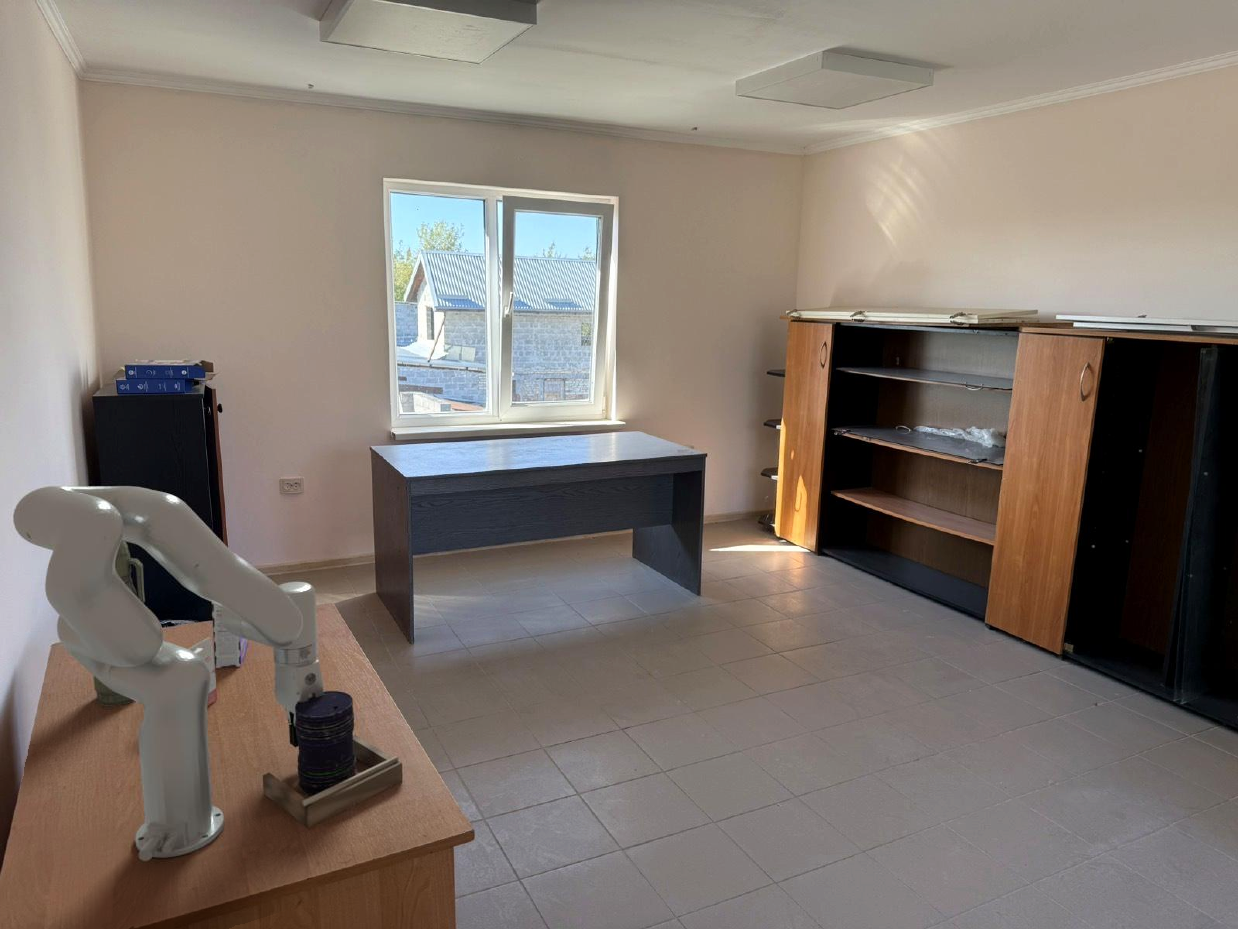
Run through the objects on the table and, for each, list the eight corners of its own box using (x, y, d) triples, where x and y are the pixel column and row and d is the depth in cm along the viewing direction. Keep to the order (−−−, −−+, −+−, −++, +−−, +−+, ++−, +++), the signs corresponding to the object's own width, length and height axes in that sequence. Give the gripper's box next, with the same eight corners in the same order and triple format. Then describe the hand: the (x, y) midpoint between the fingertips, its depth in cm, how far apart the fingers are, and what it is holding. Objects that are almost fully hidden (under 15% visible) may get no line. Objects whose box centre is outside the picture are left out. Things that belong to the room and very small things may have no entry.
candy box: (223, 645, 202) (219, 581, 199) (249, 643, 204) (246, 580, 200) (214, 669, 189) (210, 601, 186) (242, 666, 191) (238, 599, 188)
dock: (263, 793, 143) (262, 771, 142) (355, 751, 157) (354, 731, 156) (309, 828, 134) (308, 805, 133) (402, 780, 148) (402, 759, 147)
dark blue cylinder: (286, 785, 145) (281, 708, 143) (329, 760, 154) (326, 686, 151) (326, 802, 141) (322, 722, 138) (368, 775, 149) (365, 699, 147)
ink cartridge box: (197, 697, 176) (193, 633, 173) (217, 700, 175) (213, 635, 172) (168, 716, 167) (163, 649, 165) (189, 719, 166) (184, 652, 164)
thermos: (151, 700, 174) (138, 541, 167) (85, 710, 169) (69, 547, 162) (154, 682, 181) (142, 530, 175) (91, 691, 176) (76, 535, 170)
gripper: (337, 656, 146) (340, 750, 150) (294, 633, 156) (298, 721, 159) (297, 670, 140) (301, 767, 144) (255, 644, 150) (261, 736, 154)
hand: (300, 743), depth 152 cm, fingers closed
